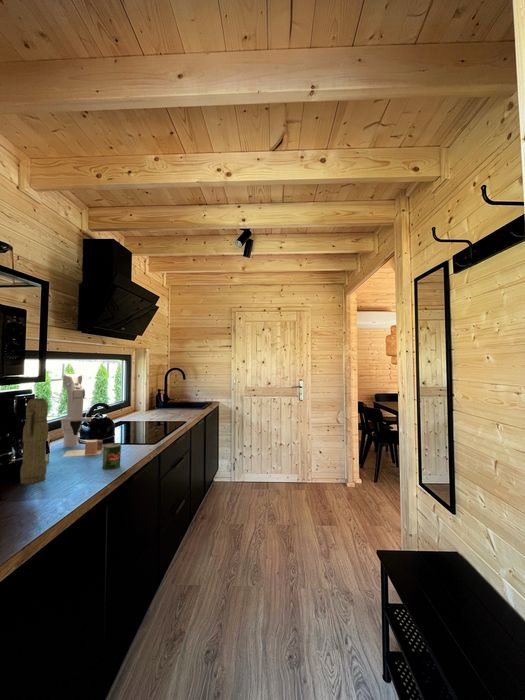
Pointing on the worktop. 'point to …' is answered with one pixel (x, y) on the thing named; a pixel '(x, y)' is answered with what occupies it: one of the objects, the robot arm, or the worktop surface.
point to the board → (79, 453)
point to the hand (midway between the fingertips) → (75, 434)
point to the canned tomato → (111, 456)
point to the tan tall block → (34, 442)
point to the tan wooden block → (91, 446)
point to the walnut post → (99, 445)
